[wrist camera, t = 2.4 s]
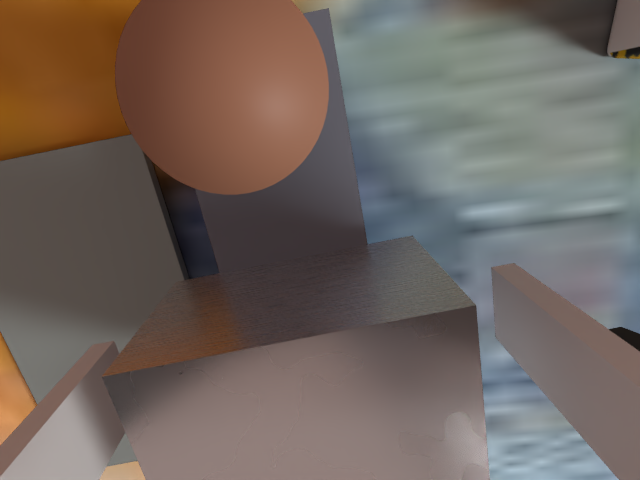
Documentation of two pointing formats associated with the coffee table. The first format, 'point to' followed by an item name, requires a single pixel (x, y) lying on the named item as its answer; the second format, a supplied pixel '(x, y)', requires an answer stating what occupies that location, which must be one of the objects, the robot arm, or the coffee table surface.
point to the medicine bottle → (625, 30)
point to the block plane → (245, 122)
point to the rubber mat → (81, 256)
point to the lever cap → (309, 373)
